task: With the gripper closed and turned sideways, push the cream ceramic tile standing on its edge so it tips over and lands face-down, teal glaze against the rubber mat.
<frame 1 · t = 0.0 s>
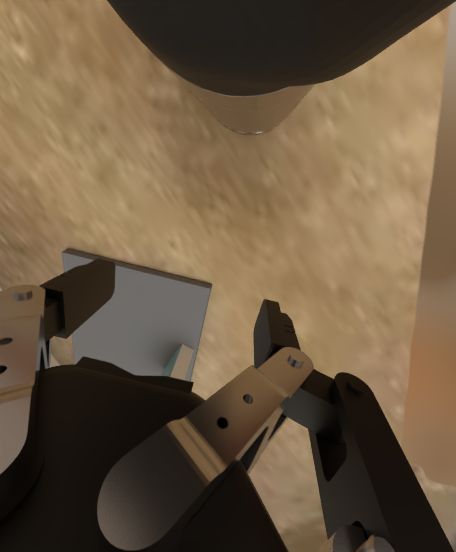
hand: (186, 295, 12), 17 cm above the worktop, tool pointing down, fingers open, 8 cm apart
tile: (178, 360, 38), point 1 cm above the worktop, touching mat
mat: (137, 327, 37), on the worktop
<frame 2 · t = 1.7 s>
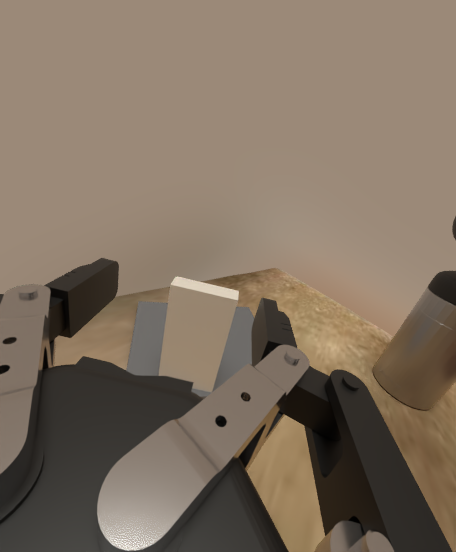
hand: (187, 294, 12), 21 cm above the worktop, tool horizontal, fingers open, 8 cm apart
tile: (186, 380, 30), point 1 cm above the worktop, touching mat
mat: (203, 345, 38), on the worktop
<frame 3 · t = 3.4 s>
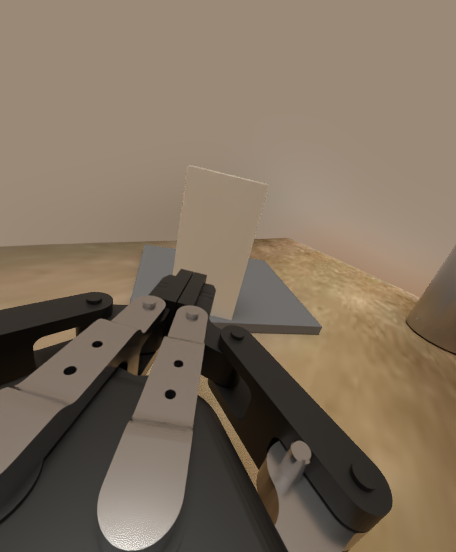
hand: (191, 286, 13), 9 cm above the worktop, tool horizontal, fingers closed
tile: (201, 307, 26), point 1 cm above the worktop, touching mat
mat: (217, 286, 34), on the worktop
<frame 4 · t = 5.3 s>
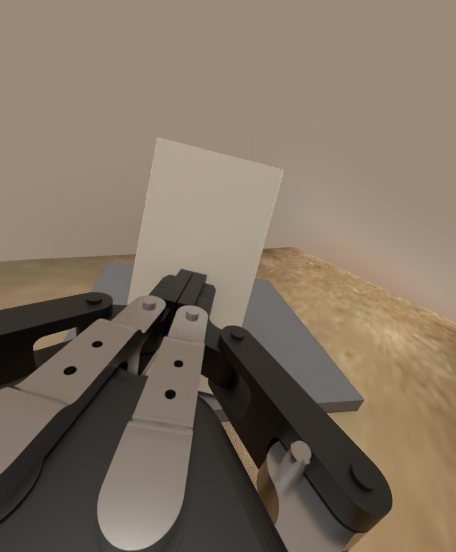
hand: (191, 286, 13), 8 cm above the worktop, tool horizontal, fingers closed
tile: (173, 374, 16), point 1 cm above the worktop, tilted 14°, touching mat
mat: (204, 324, 24), on the worktop
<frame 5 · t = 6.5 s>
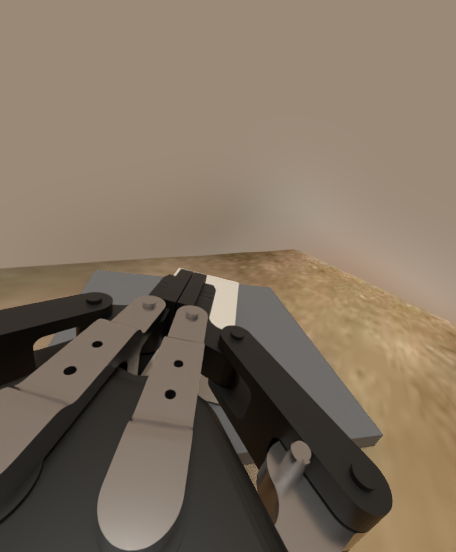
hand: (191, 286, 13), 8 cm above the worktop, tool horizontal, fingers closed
tile: (170, 380, 14), point 2 cm above the worktop, tilted 90°, touching mat
mat: (200, 341, 22), on the worktop
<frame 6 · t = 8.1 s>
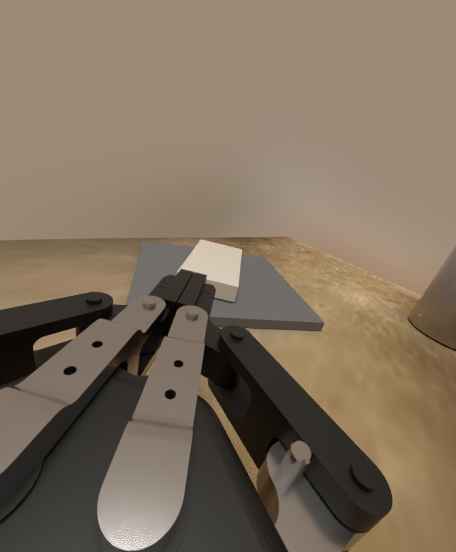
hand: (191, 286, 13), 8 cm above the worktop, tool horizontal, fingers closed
tile: (206, 287, 26), point 2 cm above the worktop, tilted 90°, touching mat
mat: (217, 282, 34), on the worktop
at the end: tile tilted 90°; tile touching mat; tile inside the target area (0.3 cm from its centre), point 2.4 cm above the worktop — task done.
